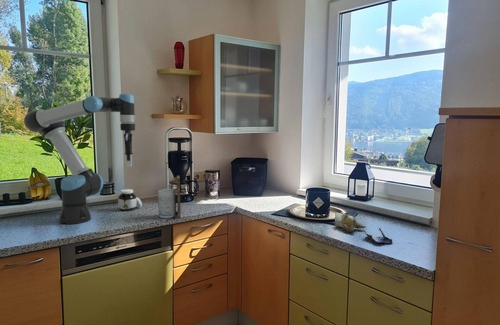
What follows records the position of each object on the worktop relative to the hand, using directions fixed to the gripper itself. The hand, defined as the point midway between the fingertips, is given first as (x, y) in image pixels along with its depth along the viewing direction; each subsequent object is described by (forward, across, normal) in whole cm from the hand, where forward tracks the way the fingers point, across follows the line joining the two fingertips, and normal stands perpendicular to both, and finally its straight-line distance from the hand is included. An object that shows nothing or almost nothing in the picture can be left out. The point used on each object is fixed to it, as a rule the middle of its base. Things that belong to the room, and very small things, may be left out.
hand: (129, 166), depth 203 cm
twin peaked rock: (+28, -64, -113) cm, 133 cm away
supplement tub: (+28, -5, -20) cm, 35 cm away
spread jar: (+28, +16, +2) cm, 32 cm away
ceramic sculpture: (+28, -45, -108) cm, 120 cm away
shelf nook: (+28, -6, -25) cm, 38 cm away
